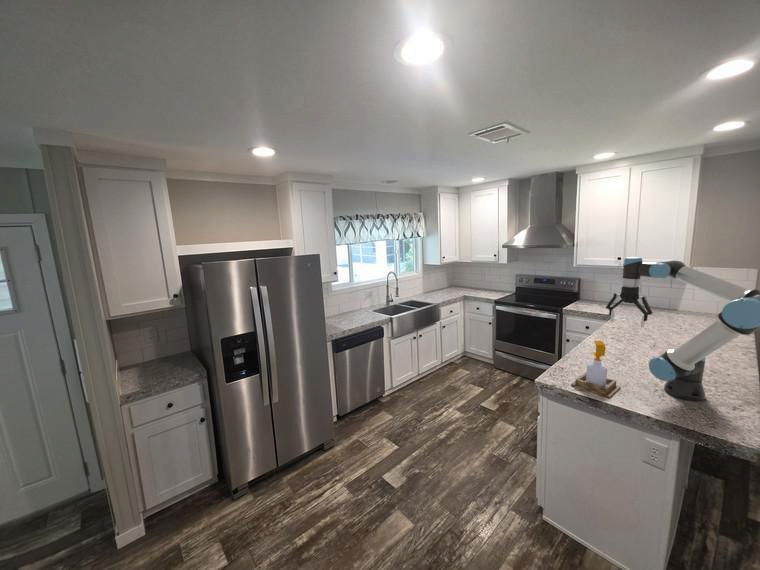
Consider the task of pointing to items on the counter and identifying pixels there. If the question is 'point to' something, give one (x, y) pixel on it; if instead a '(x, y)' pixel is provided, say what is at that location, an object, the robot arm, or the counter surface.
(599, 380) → the orange capped white bottle
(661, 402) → the counter surface
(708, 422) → the counter surface
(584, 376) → the picture frame
